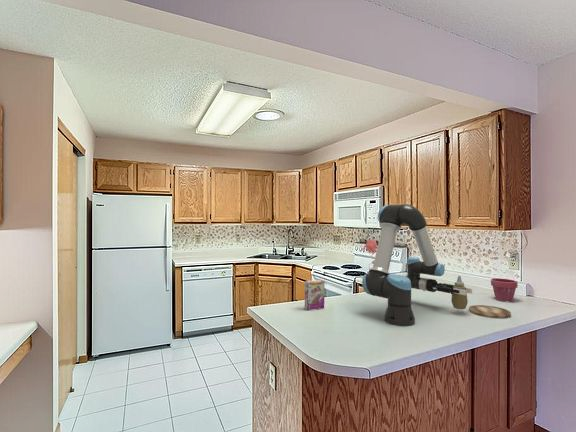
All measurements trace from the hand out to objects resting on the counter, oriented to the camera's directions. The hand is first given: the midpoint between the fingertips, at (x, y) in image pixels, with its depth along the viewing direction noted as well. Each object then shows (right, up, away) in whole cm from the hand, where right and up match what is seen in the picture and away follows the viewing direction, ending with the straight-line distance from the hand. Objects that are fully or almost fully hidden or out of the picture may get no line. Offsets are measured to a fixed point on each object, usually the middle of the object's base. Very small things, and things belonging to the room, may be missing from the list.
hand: (468, 291), depth 173 cm
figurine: (-27, -14, +101) cm, 105 cm away
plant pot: (+41, -13, +31) cm, 53 cm away
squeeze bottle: (-3, -10, +4) cm, 11 cm away
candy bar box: (-83, -14, +15) cm, 86 cm away
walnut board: (+14, -13, +4) cm, 20 cm away
